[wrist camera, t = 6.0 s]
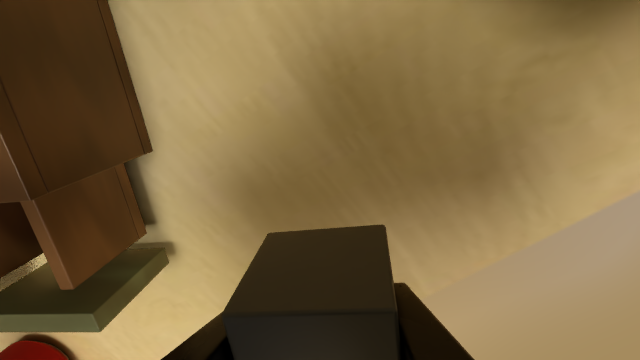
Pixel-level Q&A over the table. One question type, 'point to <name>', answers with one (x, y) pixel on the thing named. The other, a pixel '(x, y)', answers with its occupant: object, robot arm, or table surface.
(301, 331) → the block
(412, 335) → the robot arm
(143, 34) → the table surface
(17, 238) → the drawer
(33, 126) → the cabinet
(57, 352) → the beverage can
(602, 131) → the table surface
